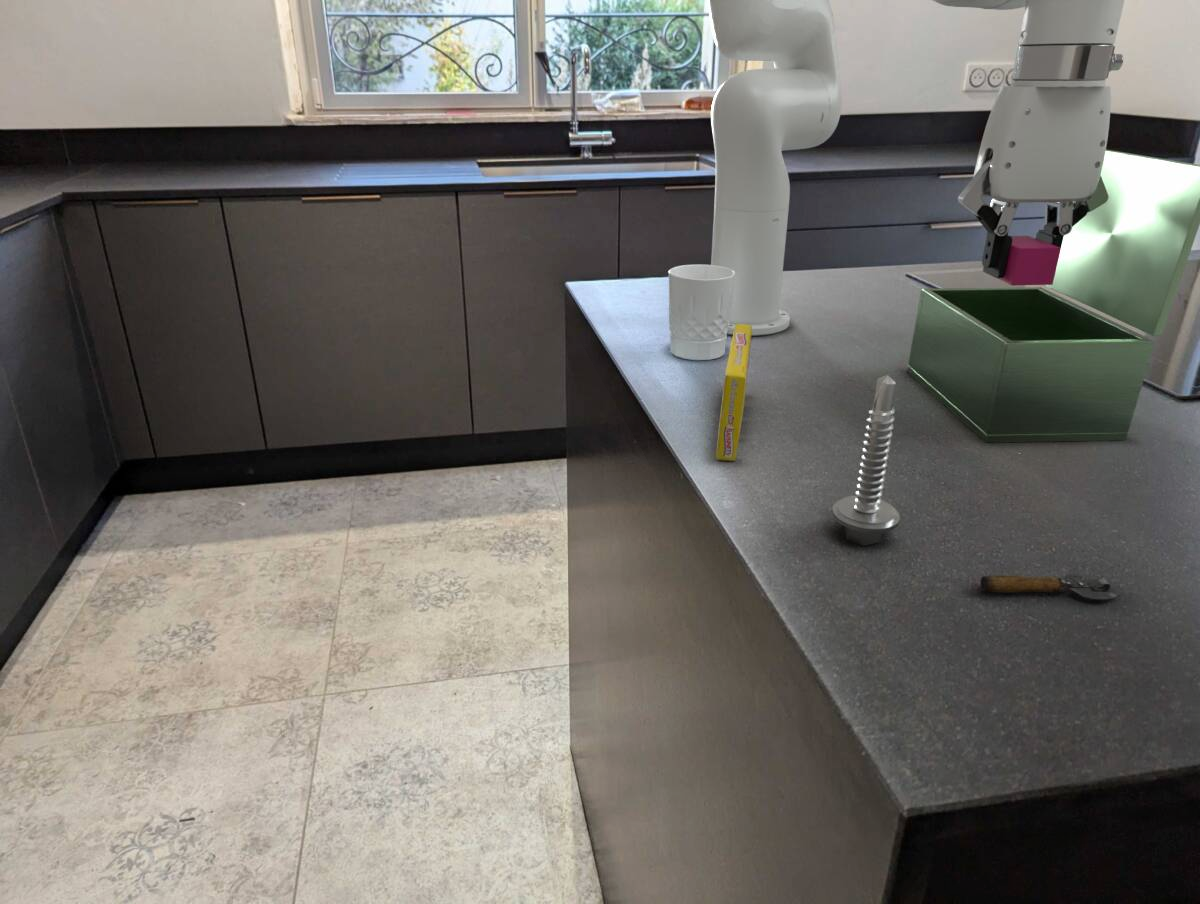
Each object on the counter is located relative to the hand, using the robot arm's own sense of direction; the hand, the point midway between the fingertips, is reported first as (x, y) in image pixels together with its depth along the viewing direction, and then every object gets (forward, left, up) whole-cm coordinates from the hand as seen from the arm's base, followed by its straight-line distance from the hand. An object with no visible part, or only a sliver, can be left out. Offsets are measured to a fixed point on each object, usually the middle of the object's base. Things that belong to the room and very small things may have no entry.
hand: (1017, 272), depth 81 cm
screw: (-22, -26, -14) cm, 37 cm away
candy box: (-28, -5, -14) cm, 32 cm away
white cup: (-28, +18, -14) cm, 36 cm away
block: (0, 0, 0) cm, 1 cm away
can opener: (-12, -34, -14) cm, 39 cm away
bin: (+2, 0, -14) cm, 14 cm away
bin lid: (+9, 0, +4) cm, 9 cm away
